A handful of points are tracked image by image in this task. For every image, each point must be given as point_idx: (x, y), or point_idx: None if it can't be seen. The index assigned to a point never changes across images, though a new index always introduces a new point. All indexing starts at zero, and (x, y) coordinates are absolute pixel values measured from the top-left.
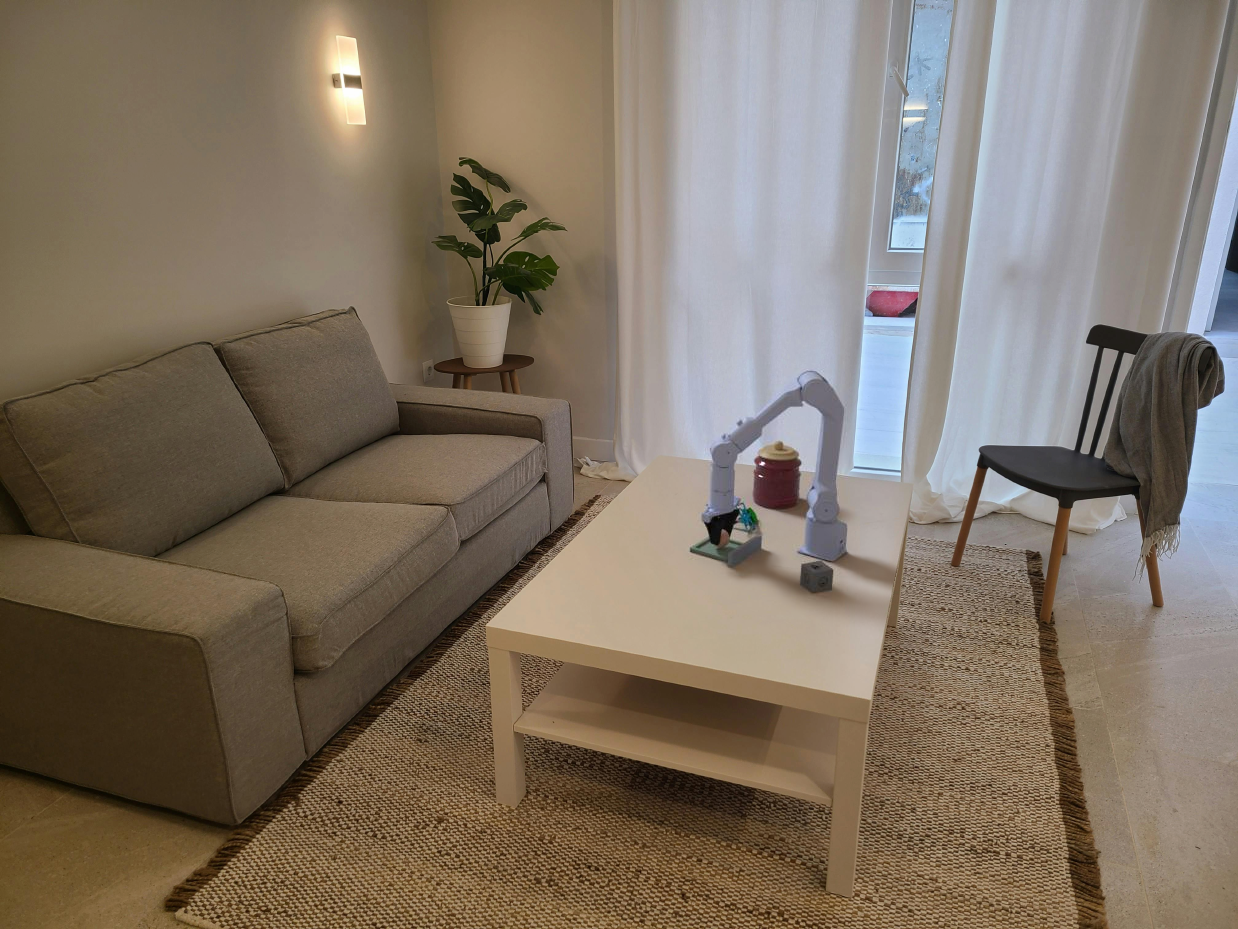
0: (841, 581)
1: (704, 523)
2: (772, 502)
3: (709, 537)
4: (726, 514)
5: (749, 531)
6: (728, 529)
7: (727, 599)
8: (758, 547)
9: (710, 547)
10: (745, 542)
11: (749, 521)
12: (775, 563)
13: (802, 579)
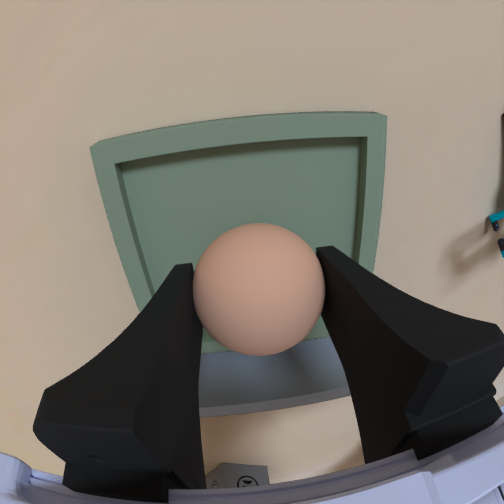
0: (291, 472)
1: (77, 374)
2: None
3: (159, 288)
4: (385, 417)
5: (492, 226)
6: (335, 335)
7: (35, 416)
8: None
9: (220, 204)
10: (283, 399)
11: None
12: (287, 411)
13: (220, 478)
